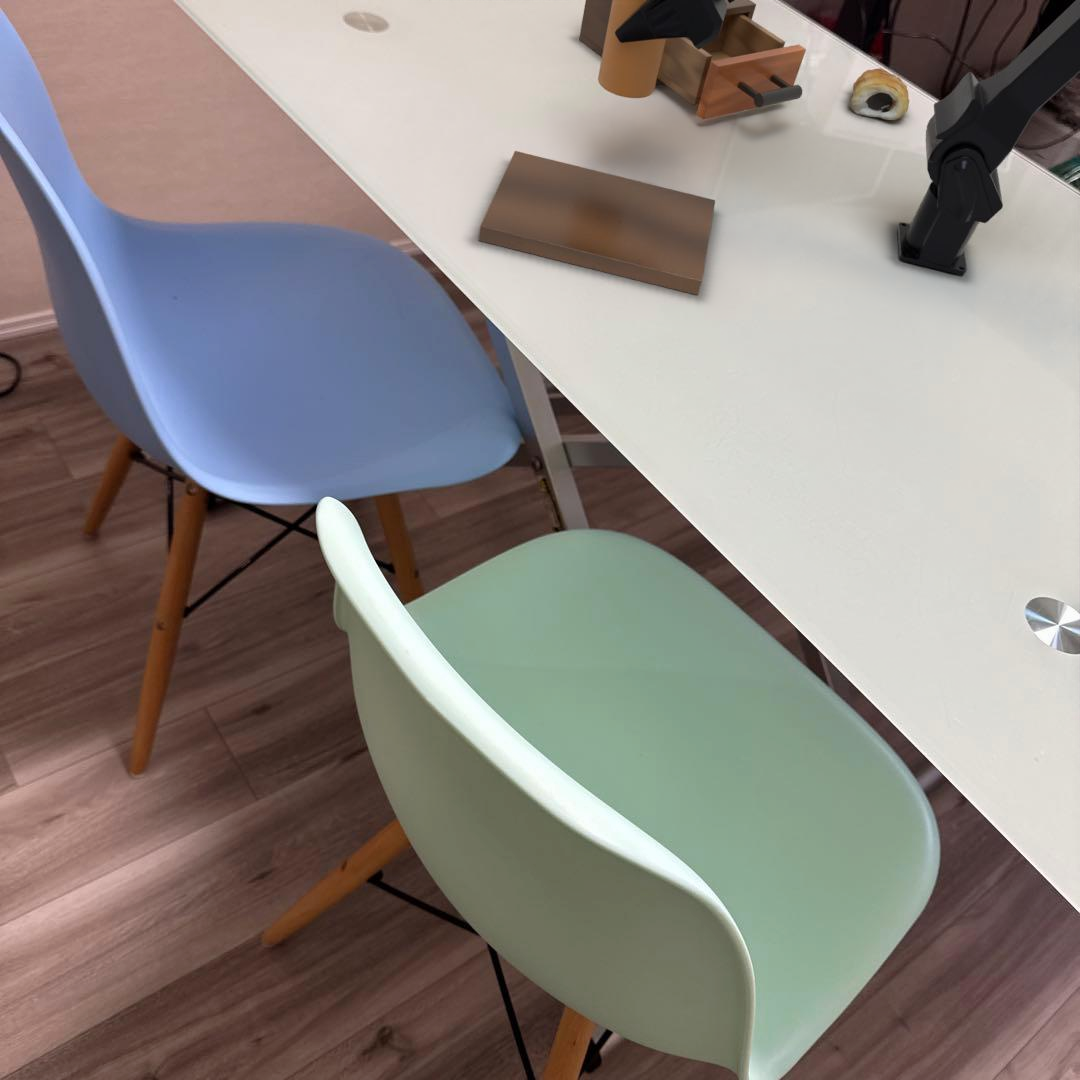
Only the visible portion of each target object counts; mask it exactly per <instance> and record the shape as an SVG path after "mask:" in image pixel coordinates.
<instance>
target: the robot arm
mask: <svg viewBox="0 0 1080 1080" xmlns="http://www.w3.org/2000/svg"><path fill="white" fill-rule="evenodd" d="M733 1H734V0H728V2H729V4H730V3H731V2H733ZM726 10H727V4H726V2H725V0H646V1H645V2H644V3H643V4H642V5H641V6H640V7H639V8H638V9H637V10H636V11H635V12H634V13H633V14H632V15H631V16H630V17H628V18H627V19H626V20H625V21H624V22H623V23H622V24H621V25H620V26H619V27H618V28H617V29H616V31H615V35H616V37H617V38H618V40H619V42H621V43H626V42H636V41H645V40H654V39H666V38H684V37H689V38H690V40H691V41H692V43H693V45H694V47H696V48H697V49H698V50H699V49H701V48H702V47H704V46H706V45H707V44H709V43H710V42H712V41H714V40H715V39H717V38H718V37H719V34H720V31H721V27H722V24H723V21H724V17H725V13H726ZM1078 74H1080V0H1075V1H1073V3H1072V4H1071V5H1069V6H1068V7H1067V8H1066V9H1065V10H1064V11H1063V12H1062V13H1060V15H1058V17H1057V18H1056V19H1055V20H1053V22H1052V23H1050V25H1049V26H1047V28H1045V29H1044V30H1043V31H1042V32H1041V34H1040V35H1038V36H1037V37H1036V38H1035V39H1034V40H1033V41H1032V42H1031V43H1030V44H1029V45H1028V46H1027V47H1026V48H1025V49H1024V50H1023V51H1022V52H1020V53H1019V54H1018V55H1017V57H1015V58H1014V60H1012V61H1011V62H1010V63H1009V64H1008V65H1007V66H1006V67H1004V68H1003V69H1002V70H1001V71H999V72H998V73H996V74H994V75H992V76H990V77H989V76H988V77H987V78H985V79H983V80H981V81H979V80H978V79H977V78H976V76H975V75H974V73H973V72H971V71H969V72H967V73H966V74H965V75H964V76H963V77H962V78H961V80H960V81H959V83H958V84H957V85H956V86H955V87H954V89H953V90H952V91H951V92H950V93H949V94H948V95H947V96H945V97H944V98H943V99H941V100H938V101H937V102H935V103H934V104H933V113H934V114H933V115H932V116H931V117H930V119H929V120H928V123H927V125H926V129H925V153H926V155H925V156H926V169H927V170H926V171H927V173H928V177H929V179H930V180H931V182H930V184H929V186H928V188H927V190H926V192H925V194H924V196H923V198H922V200H921V202H920V204H919V206H918V208H917V210H916V212H915V214H914V216H913V218H912V220H911V221H910V223H908V222H904V221H900V222H899V223H898V225H897V227H896V228H897V240H898V241H897V243H898V255H899V259H900V260H901V261H903V262H907V263H911V264H915V265H920V266H923V267H927V268H932V269H935V270H940V271H944V272H947V273H948V272H949V273H952V274H955V275H959V276H964V275H965V274H966V272H967V269H968V268H967V261H966V255H965V249H966V247H967V245H968V244H969V242H970V240H971V238H972V236H973V235H974V233H975V231H976V230H977V228H978V226H979V225H980V223H982V224H987V223H988V222H989V221H990V220H991V219H992V218H993V217H994V216H996V215H997V214H998V213H999V212H1000V211H1001V210H1002V209H1003V207H1004V203H1003V196H1002V192H1001V184H1000V178H999V172H998V168H999V167H1000V165H1001V164H1002V163H1003V162H1004V160H1005V159H1006V158H1007V157H1008V156H1009V155H1010V154H1011V152H1012V151H1013V150H1014V148H1015V146H1016V145H1017V143H1018V141H1019V139H1020V138H1021V136H1022V135H1023V133H1024V131H1025V130H1026V128H1027V126H1028V125H1029V123H1030V121H1031V120H1032V118H1033V117H1034V115H1035V114H1036V113H1037V112H1038V111H1039V110H1040V109H1041V108H1042V107H1043V106H1045V104H1046V103H1047V102H1048V101H1049V100H1051V99H1052V98H1053V97H1054V96H1055V95H1056V94H1057V93H1059V92H1060V91H1061V90H1062V89H1063V88H1064V87H1065V86H1066V85H1067V84H1068V83H1070V82H1071V81H1072V80H1073V79H1074V78H1075V77H1076V76H1077V75H1078Z"/></svg>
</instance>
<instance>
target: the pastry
mask: <svg viewBox="0 0 1080 1080" xmlns="http://www.w3.org/2000/svg"><path fill="white" fill-rule="evenodd" d="M852 91H853V93H852V96H851V99H850V109H851V110H852V111H853V112H854V113H855V114H857V115H860V116H864V117H867V118H880V119H882V120H884V121H885V120H886V121H897V120H899V119H901V118H902V117H903V116H904V115H905V114H906V113H907V112H908V110H909V104H910V99H909V90H908V86H907V84H906V83H904V82H903V81H902V79H901V78H900V77H899V76H897V75H896V74H894V73H890V72H888V71H887V70H885V69H883V68H874V69H867V70H865V71H864V72H863V73H861V75H860V76H859V77H858V78H857V79H856V81H854V83H853V85H852Z"/></svg>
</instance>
